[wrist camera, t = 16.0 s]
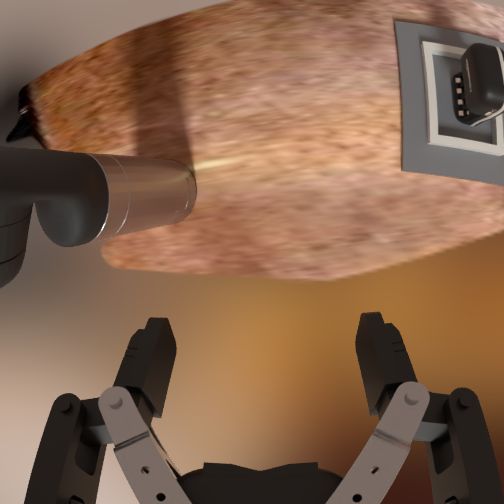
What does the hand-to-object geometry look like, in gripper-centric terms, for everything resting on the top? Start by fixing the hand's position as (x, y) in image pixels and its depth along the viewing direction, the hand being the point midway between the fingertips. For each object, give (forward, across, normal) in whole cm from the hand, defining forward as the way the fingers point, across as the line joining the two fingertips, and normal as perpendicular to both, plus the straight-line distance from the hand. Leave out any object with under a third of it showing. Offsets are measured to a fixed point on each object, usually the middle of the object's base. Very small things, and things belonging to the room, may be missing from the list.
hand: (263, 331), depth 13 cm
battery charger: (+26, -24, -8) cm, 36 cm away
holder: (+27, -25, -8) cm, 37 cm away
